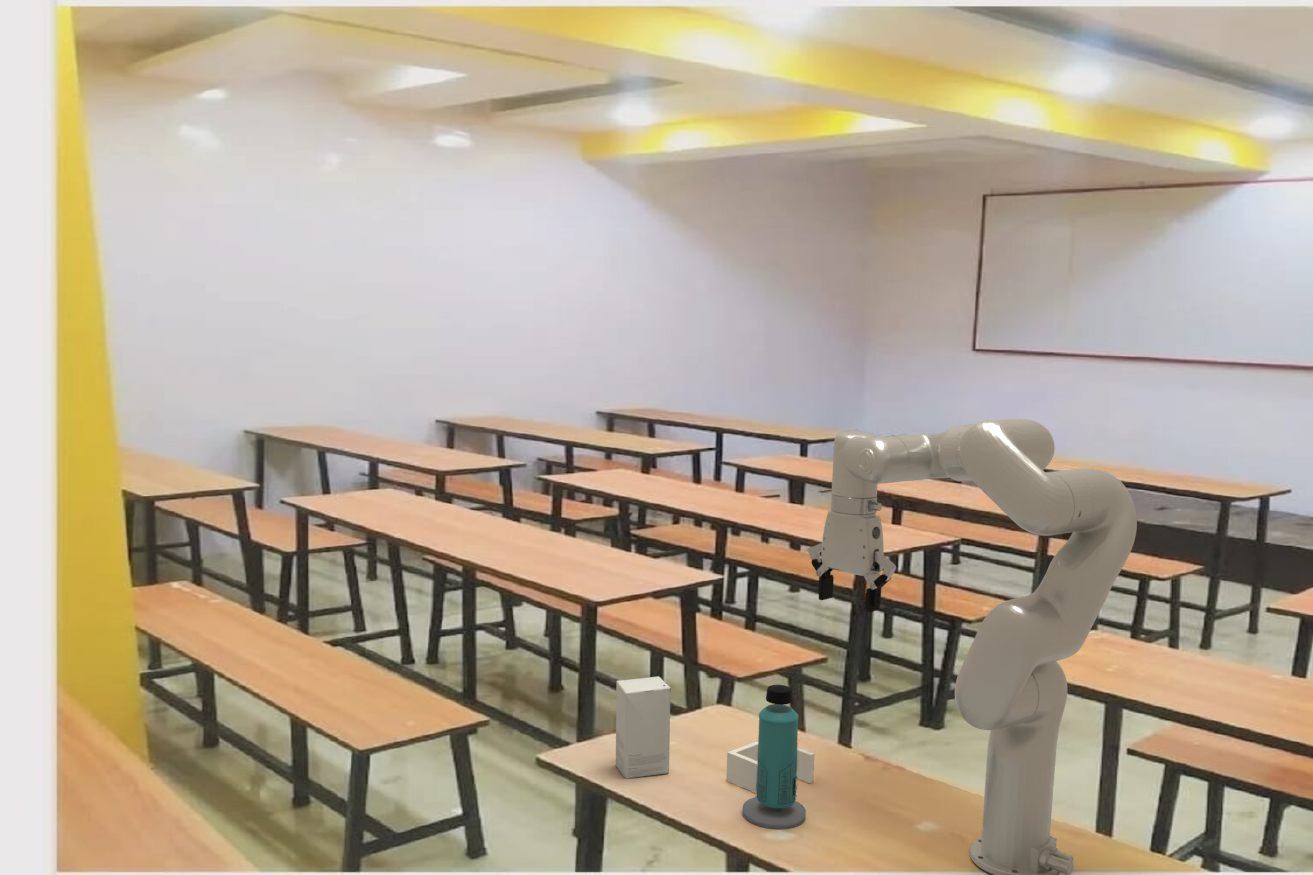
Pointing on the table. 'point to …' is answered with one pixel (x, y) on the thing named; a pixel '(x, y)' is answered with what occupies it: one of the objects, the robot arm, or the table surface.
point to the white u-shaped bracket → (745, 763)
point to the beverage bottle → (777, 750)
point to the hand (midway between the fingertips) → (848, 604)
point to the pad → (773, 815)
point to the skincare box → (642, 727)
